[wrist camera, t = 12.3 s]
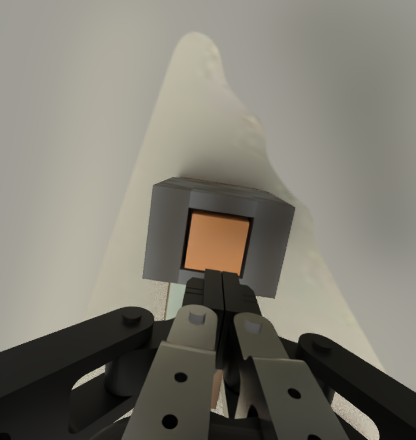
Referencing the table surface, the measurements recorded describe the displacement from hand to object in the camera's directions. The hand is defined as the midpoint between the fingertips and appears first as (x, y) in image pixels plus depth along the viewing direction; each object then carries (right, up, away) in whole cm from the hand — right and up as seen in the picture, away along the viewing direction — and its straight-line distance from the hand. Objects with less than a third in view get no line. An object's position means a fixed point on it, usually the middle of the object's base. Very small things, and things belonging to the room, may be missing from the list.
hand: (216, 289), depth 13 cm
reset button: (0, +2, +10) cm, 10 cm away
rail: (-1, -6, +21) cm, 22 cm away
